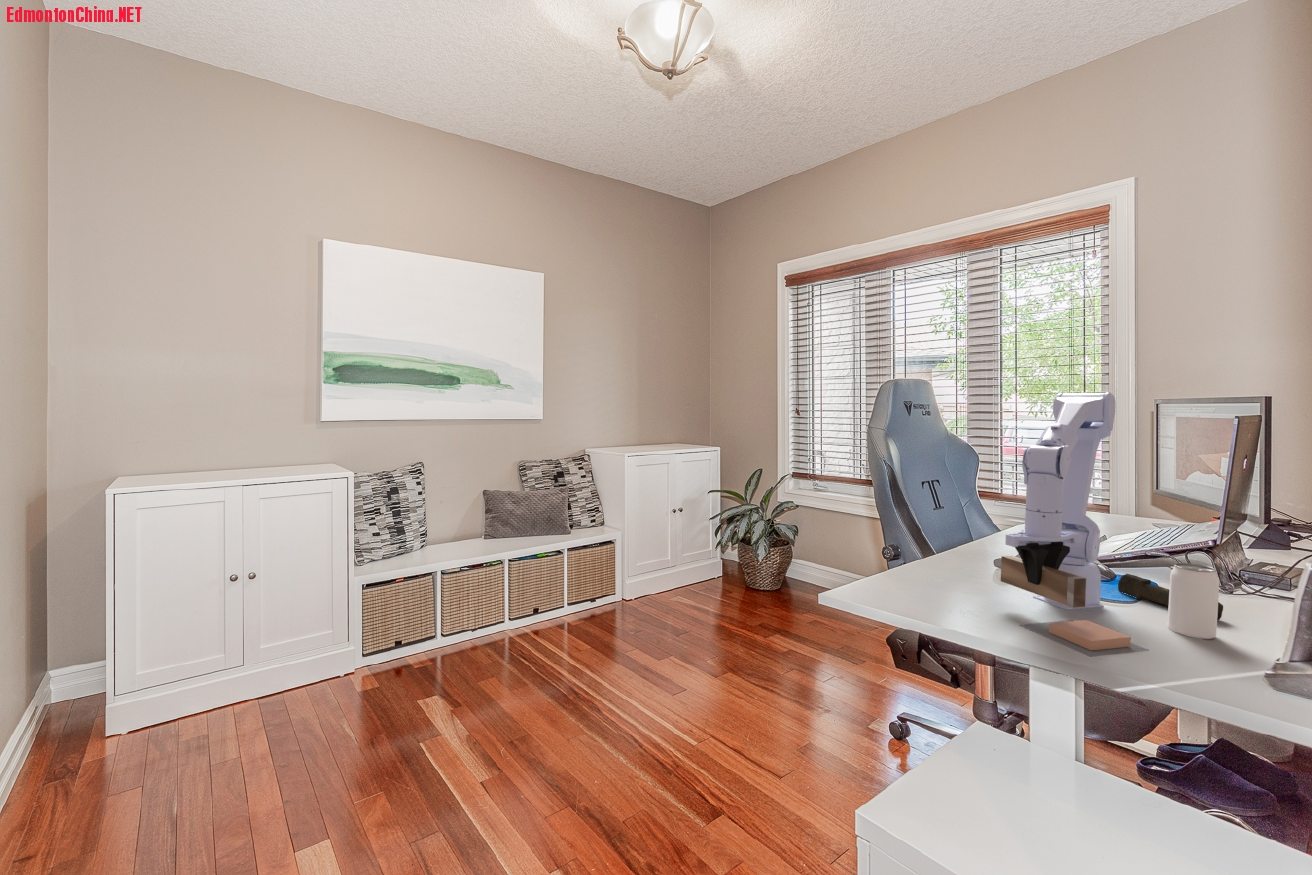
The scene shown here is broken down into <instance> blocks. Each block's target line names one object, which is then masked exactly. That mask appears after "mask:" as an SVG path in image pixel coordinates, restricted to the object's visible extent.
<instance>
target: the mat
mask: <svg viewBox="0 0 1312 875" xmlns="http://www.w3.org/2000/svg"><path fill="white" fill-rule="evenodd" d="M1069 621H1075V620H1074V619H1070V620H1069V619H1068V620H1058V621H1046V622H1035V623H1023V624H1019V626H1020V627H1022V628H1024V629H1027V630H1028V631H1031V632H1034V633H1036V634H1037V635H1040V636H1043V637H1044V638H1047V639H1049V640H1051V641H1053V642H1056V643H1058V644H1061V645H1063V646H1065V647H1067V648H1069V649H1072V650H1073V651H1077V652H1079V653H1081V654H1083V655H1086V656H1087V657H1098V656H1101V657H1102V656H1109V655H1118V654H1119V655H1121V654H1127V653H1136V652H1137V653H1138V652H1144V651H1145V652H1146V651H1149V649H1148V648H1145V647H1142V646H1140V645H1137V644H1135V643H1133V642H1131V643H1130V647H1120V648H1111V649H1101V650H1092V651H1091V650H1089V649H1086V648H1084V647H1082V646H1079V645H1077V644H1075V643H1072V642H1070V641H1068V640H1065V639H1063V638H1061V637H1058V636H1056V635H1054V634H1052V633H1049V623H1058V622H1069Z"/></svg>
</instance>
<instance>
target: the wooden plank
mask: <svg viewBox="0 0 1312 875" xmlns="http://www.w3.org/2000/svg"><path fill="white" fill-rule="evenodd" d="M1000 559H1001V561H1000V562H1001V563H1000V582H1002V583H1005V584H1008V585H1011V586H1013V587H1016V588H1018V589H1020V590H1021V589H1022V590H1023V591H1026V592H1029V593H1031V594H1035V595H1036V596H1037V595H1040V596H1043V597H1045V598H1048V599H1051V600H1054V601H1056V602H1059V603H1062V604H1065V605H1067V606H1069V607H1072V608H1078V607H1085V597H1086V578H1085V577H1081V576H1077V575H1074V574H1070V573H1067V572H1064V571H1061V570H1057V569H1054V568H1051V567H1047V566H1044V565H1043V568H1042V577H1041V582H1040V585H1036V584H1033V583H1030V582H1028V580H1027V576H1026V571H1025V568H1024V565H1023V562H1022V559H1021V557H1017V556H1014V555H1002V556H1001V557H1000Z"/></svg>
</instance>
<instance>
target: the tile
mask: <svg viewBox="0 0 1312 875" xmlns="http://www.w3.org/2000/svg"><path fill="white" fill-rule="evenodd" d="M1049 633H1052V634H1054V635H1056V636H1058V637H1061V638H1063V639H1065V640H1068V641H1070V642H1072V643H1075V644H1077V645H1079V646H1082V647H1084V648H1086V649H1089V650H1091V651H1092V650H1101V649H1111V648H1120V647H1130V643H1132V642H1131V639H1132V637H1131V636H1129V635H1127V634H1124V633H1122V632H1119V631H1116V630H1114V629H1112V628H1108V627H1105V626H1104V625H1100V624H1098V623H1095V622H1092V621H1090V620H1088V619H1083V620H1074V621H1069V622H1058V623H1049Z"/></svg>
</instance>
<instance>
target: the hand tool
mask: <svg viewBox="0 0 1312 875" xmlns="http://www.w3.org/2000/svg"><path fill="white" fill-rule="evenodd" d="M1169 589H1170V588H1169ZM1169 589H1168V588H1165V587H1162V586H1160V585H1156V584H1154V583H1152V580H1150V579H1148V578H1143V577H1140V576H1138V575H1134V574H1130V573H1125V574H1122V576H1120V578H1119V580H1118V583H1117V590H1118V591H1119V592H1121V593H1122V592H1123V593H1122V594H1124V593H1126V594H1128V595H1127V596H1129V595H1131V596H1134V597H1136V598H1135V599H1137V598H1139V599H1138V600H1141V601H1143V600H1145V601H1152V602H1155V603H1159V605H1165V606H1167V607H1169ZM1126 594H1125V595H1126ZM1131 596H1130V597H1131ZM1134 597H1133V598H1134ZM1223 611H1224V604H1222V603H1221V602H1219V601H1218V614H1217V622H1218V621H1220V620H1221V618H1222V616H1223Z"/></svg>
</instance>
